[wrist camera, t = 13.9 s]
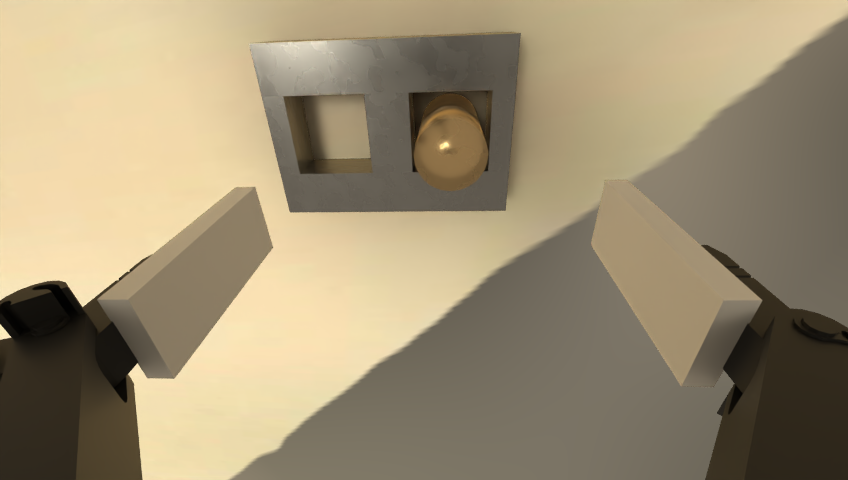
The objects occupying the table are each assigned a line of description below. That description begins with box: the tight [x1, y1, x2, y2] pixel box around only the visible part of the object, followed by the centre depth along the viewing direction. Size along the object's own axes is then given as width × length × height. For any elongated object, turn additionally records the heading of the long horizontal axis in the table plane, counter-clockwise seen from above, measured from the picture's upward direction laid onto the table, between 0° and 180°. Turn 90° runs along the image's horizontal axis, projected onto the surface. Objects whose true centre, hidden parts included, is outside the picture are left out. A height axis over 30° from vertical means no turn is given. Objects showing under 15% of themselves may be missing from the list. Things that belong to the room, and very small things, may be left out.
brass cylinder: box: [414, 93, 488, 191], centre depth 29 cm, size 5×5×10 cm
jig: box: [249, 32, 521, 212], centre depth 32 cm, size 20×14×4 cm
